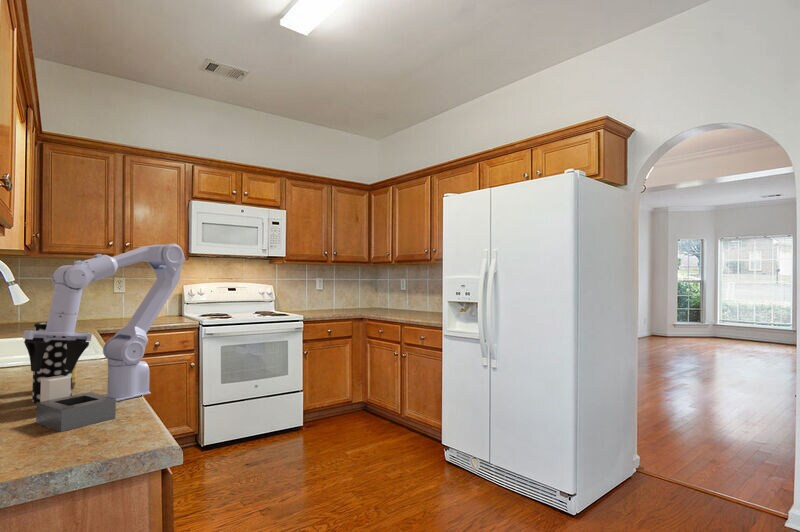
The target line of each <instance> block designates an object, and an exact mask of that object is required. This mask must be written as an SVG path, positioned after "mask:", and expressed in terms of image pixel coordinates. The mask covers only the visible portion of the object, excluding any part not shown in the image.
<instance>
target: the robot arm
mask: <svg viewBox="0 0 800 532" xmlns="http://www.w3.org/2000/svg"><path fill="white" fill-rule="evenodd" d="M185 261H186V258H185V254H184V251H183V249H182V247H181V246H180V245H179V244H178V243H170V244H157V243H155V244H151V245H144V246H141V247H137V248H134V249H132V250H129V251H126V252H124V253H121V254H117V255H115V256H109V255H107V254H102V253H96V254H94V255H93V257H92V258H89V259H85V260H76V261H74V264H73V265H71V264H69V265H67V264H66V265H61V266H59V267H57V269H56V270H55V271H54V272H53V274H51V281H52V283H53V285H54V289H53V293H52V299H51V302H50V308H49V313H48V317H47V321H46V322H47V327H46V331H34V330H28V329H26V330H24V332H23V336H22V339H24V342H23V343H24V346H25V348H26V350H27V352H28V356H29V357H28V358H29V361H30V371H31V372H33V371H35V372H39V371H40V369H41V365H42V360H43V356H44V353H45V351H46V348H47V346H48V344H49V342H45V341H43V340H73V341H67V342H66V343H67V357H66V362H65V370H69V371H73V369H74V367H75V365H76V363H77V364H78V362H79V359H80V357H81V356H82V354H83V353H84V351H86V349H88V347H89V345H90V342H91V341H92V336H93V335H92V334H93V333H91V332H90V333H89V332H76V327H77V322H78V316H79V313H80V312H79V310H80V305H81V301H82V295H83V289H85V288H86V287H87V286H88V285H89V284H92V283H94V282H97V281H100V280H102V279H106V278H108V277H111V276H114V275H115V274H116V273H117V270H118V269H120V268H124V267H126V266H128V267H129V266H130V265H135V264H137V263H141V262H146V263H148V265H149V267H150V268H151V269H152V271H153V273H154V274H155V276H156V279H155V281H154V283H153V284H152V286H151V287H150V289H149V290H148V291H147V293H146V295H145V296H144V298H143V300H142V301H141V303H140V304H139V306H138V307H137V309H136V310H135V312H134V313H133V315H132V316H131V317H130V319H129V321H128V323H127V324H126V325H125V326H124V327H122V328H121V329H119V330H117V332H115V334H114V335H113V336H112V337H111V338H110V339H108V340H107V341H106V342H105V343H104V345H103V348H102V353H103V355H104V358H106V360H107V387H106V388H107V389H106V390H107V392H106V393H107V394H106V393H105V394H103V395H104V396H108V397H112V398H116V402H119V401H124V400H128V399H133V398H137V397H142V396H146V395H150V394H152V393H151V391H150V373H151V372H150V367H149V364H148V363H147V362H146V361H145V360H142V359H143V357H144V355H145V353H146V352H145V351H146V346H147V344H148V343H149V338H148V336H147V333H148V332H149V330H150V329H151V327H152V326H153V324H154V322H155V320H156V319H157V318H158V315H159V314H160V312H161V311H162V310H163V307H164V306H165V304H166V303H167V301H168V299H169V298H170V296H171V295H172V293H173V292H174V290H175V288H176V287H177V285H178V284H179V281H180V277H181V272H182V266H183V264H184V262H185ZM53 336H65V337H69V338H51V337H53ZM139 392H140V393H139ZM141 395H142V396H141Z"/></svg>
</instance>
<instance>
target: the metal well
mask: <svg viewBox="0 0 800 532" xmlns="http://www.w3.org/2000/svg"><path fill="white" fill-rule="evenodd" d="M104 395H105V394H99V393H95V392H91V391H89V392H83V393H78V394H74V395H73V394H72V396H68V397H63V398H58V399H53V400H47V401H42V402H37V403H36V413H35V415H36V416H35V423H36V424H37V425H40V426H43V427H46V428H48V427H49V429H52V430H55V431H56V432H57V431H58V432H61V433H62V432H66V431H69V430H73V429H78V428H82V427H86V426H90V425H94V424H99V423H102V422H105V421H109V420H113V419H114V420H115V419H116V415H117V414H116V408H117V407H116V406H117V401H116V398H112V397H108V396H104Z"/></svg>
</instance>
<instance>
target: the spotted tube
mask: <svg viewBox="0 0 800 532" xmlns="http://www.w3.org/2000/svg"><path fill="white" fill-rule="evenodd" d="M47 322H48V321H45V322H44V321H43V322H35V323H34V325H33V328H34V329H33V331H46V327H47ZM51 338H69V337H65V336H53V337H51ZM43 341H45V342H49V344H48V346H47V348H46V351H45V353H44V356H43V360H42V365H41V369H40V371H39V372H35V371H32V390H31V391H32V394H31V396H32V397H31V402H32V403H34V404H37V402H40V392H41V379H42V378H48V377H54V376H61V375H63V376H67V377H71V393H70V396H73V388H72V371H69V370H65V362H66V357H67V343H66V342H67V341H73V340H43Z"/></svg>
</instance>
